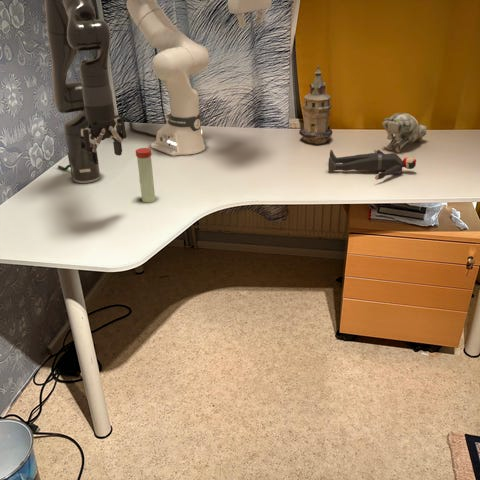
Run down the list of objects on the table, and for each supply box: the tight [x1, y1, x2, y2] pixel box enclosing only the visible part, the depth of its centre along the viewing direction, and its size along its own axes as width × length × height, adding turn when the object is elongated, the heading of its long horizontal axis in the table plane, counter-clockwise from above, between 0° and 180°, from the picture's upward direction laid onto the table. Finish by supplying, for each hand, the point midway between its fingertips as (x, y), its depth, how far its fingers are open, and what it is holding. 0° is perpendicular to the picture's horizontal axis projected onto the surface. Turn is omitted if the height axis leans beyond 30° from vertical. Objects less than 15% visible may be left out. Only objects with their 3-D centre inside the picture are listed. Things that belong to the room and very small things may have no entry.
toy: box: [327, 149, 417, 181], centre depth 190 cm, size 26×6×30 cm
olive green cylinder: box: [136, 155, 156, 203], centre depth 169 cm, size 4×4×16 cm
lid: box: [135, 147, 153, 158], centre depth 165 cm, size 5×5×2 cm
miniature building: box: [298, 65, 333, 145], centre depth 213 cm, size 13×14×30 cm
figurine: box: [381, 112, 428, 153], centre depth 209 cm, size 10×19×20 cm
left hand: (106, 159), depth 149 cm, fingers open, 8 cm apart
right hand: (250, 25), depth 175 cm, fingers open, 8 cm apart
